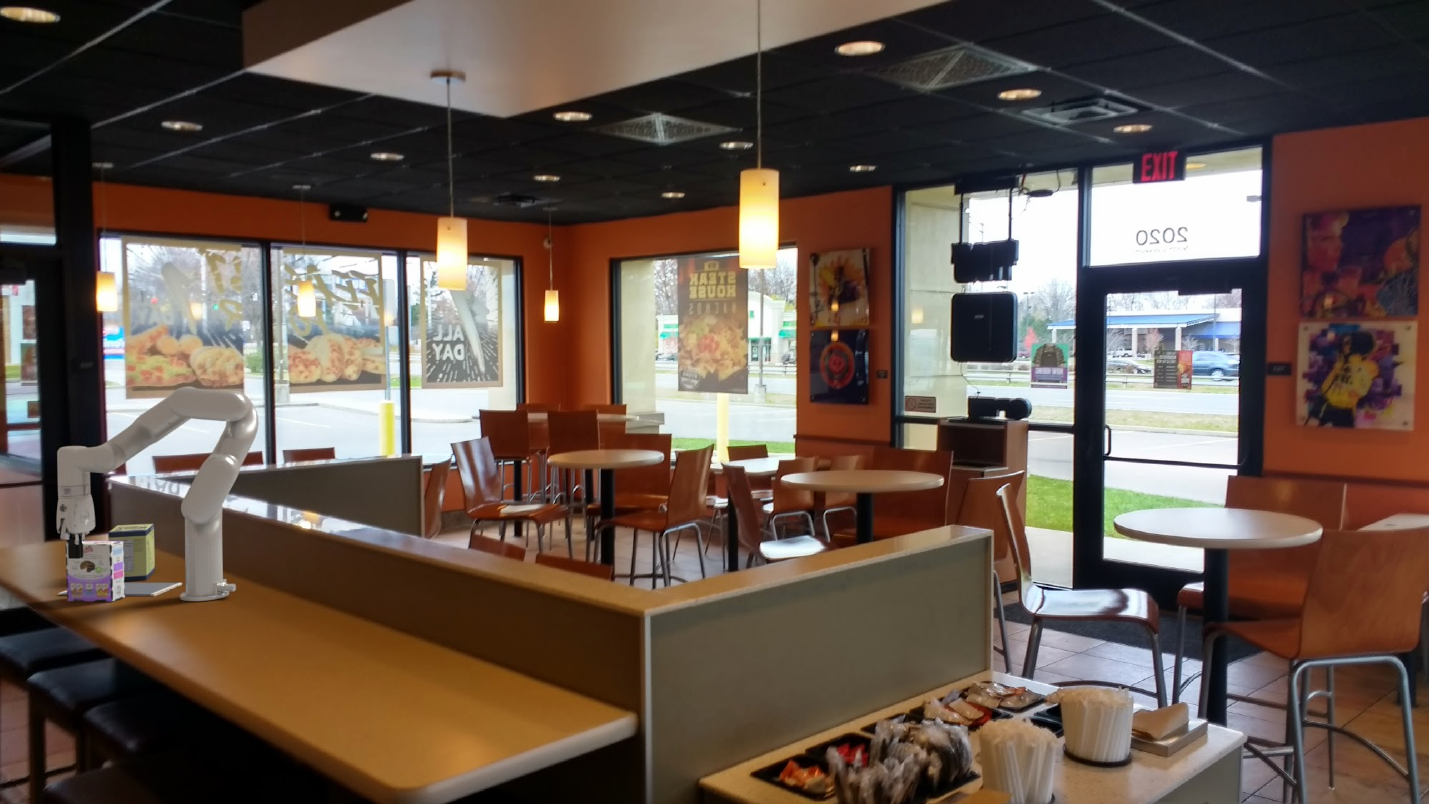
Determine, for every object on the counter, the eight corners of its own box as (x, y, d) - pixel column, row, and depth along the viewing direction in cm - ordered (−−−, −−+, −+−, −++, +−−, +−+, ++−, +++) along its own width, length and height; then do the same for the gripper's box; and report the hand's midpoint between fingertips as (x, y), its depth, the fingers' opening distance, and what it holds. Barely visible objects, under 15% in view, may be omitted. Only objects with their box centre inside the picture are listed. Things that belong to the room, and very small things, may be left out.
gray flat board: (182, 584, 312) (182, 582, 312) (153, 596, 297) (153, 594, 297) (90, 584, 313) (90, 582, 313) (57, 595, 298) (57, 593, 298)
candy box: (126, 597, 295) (124, 540, 295) (112, 602, 289) (110, 544, 289) (80, 596, 297) (79, 539, 296) (65, 601, 291) (64, 543, 290)
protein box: (155, 570, 333) (154, 522, 333) (147, 580, 319) (146, 530, 318) (118, 573, 330) (117, 524, 329) (108, 583, 315) (107, 532, 315)
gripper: (70, 495, 276) (71, 563, 277) (104, 488, 291) (106, 553, 291) (42, 494, 276) (44, 563, 277) (78, 488, 291) (79, 553, 292)
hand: (75, 557), depth 284 cm, fingers closed
